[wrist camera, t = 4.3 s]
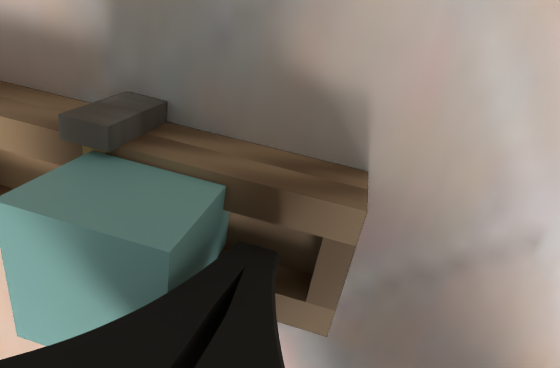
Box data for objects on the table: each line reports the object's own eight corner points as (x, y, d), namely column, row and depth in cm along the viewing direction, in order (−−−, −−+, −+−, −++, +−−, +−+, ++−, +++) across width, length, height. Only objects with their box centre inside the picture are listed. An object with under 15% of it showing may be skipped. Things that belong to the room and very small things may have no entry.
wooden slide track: (374, 150, 13) (375, 225, 8) (330, 296, 16) (313, 409, 11) (-49, 49, 15) (-230, 65, 11) (-20, 193, 18) (-152, 254, 13)
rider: (241, 167, 13) (169, 252, 8) (226, 271, 14) (162, 385, 10) (120, 136, 13) (-9, 200, 9) (122, 240, 15) (17, 335, 11)
